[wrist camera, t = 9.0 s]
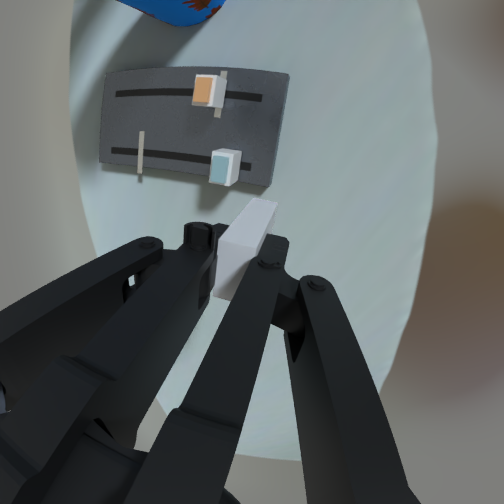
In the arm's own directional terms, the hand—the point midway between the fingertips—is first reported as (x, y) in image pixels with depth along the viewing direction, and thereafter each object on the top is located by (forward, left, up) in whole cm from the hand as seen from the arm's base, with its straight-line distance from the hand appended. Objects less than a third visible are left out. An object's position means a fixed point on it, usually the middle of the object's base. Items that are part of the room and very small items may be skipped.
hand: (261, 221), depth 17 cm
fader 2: (0, -7, -17) cm, 18 cm away
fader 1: (-9, -10, -17) cm, 21 cm away
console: (-5, -15, -19) cm, 24 cm away
